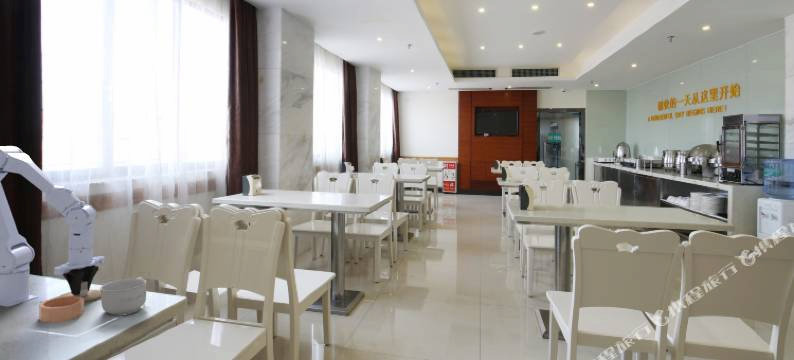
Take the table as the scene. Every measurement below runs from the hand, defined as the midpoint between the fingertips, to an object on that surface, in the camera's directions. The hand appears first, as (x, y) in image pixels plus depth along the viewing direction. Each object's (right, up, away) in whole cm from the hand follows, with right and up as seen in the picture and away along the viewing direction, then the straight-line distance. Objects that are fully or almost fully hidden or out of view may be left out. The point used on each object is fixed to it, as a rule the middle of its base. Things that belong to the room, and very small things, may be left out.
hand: (80, 292), depth 123 cm
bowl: (+5, -3, -13) cm, 14 cm away
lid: (0, -2, 0) cm, 2 cm away
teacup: (+18, -4, -6) cm, 19 cm away
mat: (0, -2, 0) cm, 2 cm away
